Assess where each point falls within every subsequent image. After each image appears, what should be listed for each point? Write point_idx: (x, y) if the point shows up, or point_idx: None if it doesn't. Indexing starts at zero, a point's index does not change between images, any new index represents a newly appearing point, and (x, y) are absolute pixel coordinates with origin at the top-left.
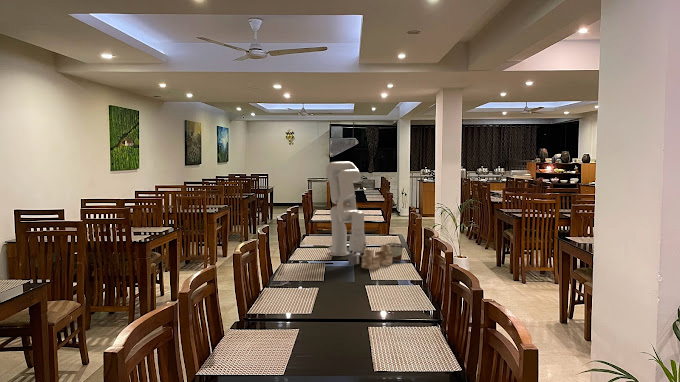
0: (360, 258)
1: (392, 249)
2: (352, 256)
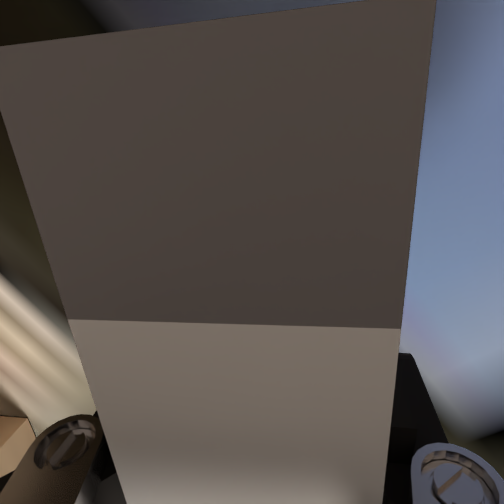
0: None
1: None
2: (84, 63)
